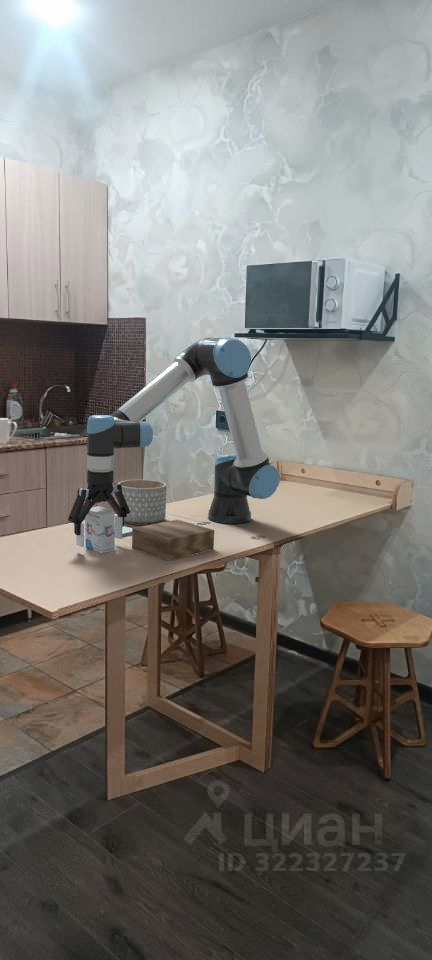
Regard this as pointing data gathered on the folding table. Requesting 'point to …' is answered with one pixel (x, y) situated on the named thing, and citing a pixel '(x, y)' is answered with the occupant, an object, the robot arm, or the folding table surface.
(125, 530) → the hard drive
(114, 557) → the folding table surface
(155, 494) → the planter
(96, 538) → the ink box
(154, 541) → the walnut stand
